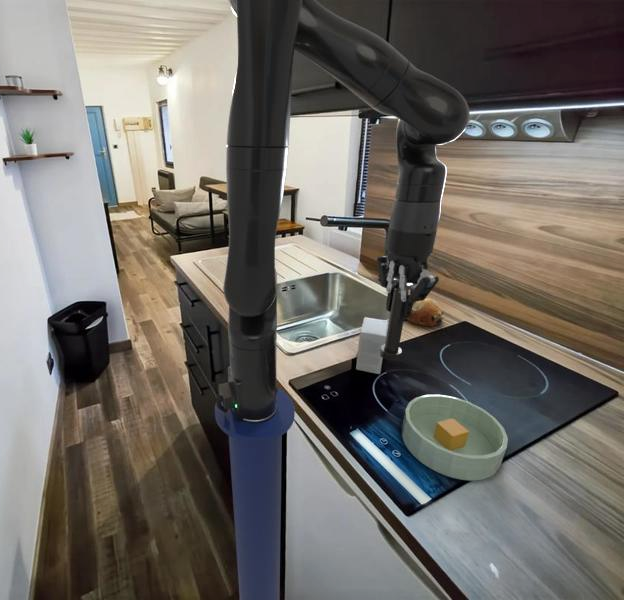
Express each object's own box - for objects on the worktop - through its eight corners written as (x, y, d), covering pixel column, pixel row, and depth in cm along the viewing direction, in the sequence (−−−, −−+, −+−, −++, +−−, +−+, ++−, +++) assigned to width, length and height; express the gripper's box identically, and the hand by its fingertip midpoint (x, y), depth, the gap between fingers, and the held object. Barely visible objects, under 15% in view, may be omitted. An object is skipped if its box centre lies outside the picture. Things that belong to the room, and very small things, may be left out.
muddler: (388, 362, 72) (399, 296, 66) (375, 352, 76) (385, 288, 70) (405, 358, 73) (418, 293, 67) (392, 348, 76) (403, 285, 70)
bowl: (446, 491, 57) (453, 469, 55) (384, 424, 71) (387, 404, 69) (522, 466, 61) (531, 444, 58) (449, 407, 74) (454, 387, 72)
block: (448, 451, 63) (452, 436, 62) (433, 436, 67) (436, 422, 65) (465, 446, 64) (469, 431, 63) (448, 432, 67) (452, 417, 66)
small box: (359, 352, 93) (364, 316, 89) (383, 357, 91) (388, 320, 87) (355, 369, 87) (359, 331, 82) (380, 375, 85) (386, 336, 80)
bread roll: (428, 322, 112) (425, 296, 112) (453, 323, 102) (450, 295, 102) (399, 326, 111) (396, 300, 111) (421, 328, 101) (418, 299, 101)
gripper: (369, 219, 68) (359, 302, 76) (424, 237, 56) (406, 334, 63) (403, 215, 70) (390, 297, 77) (464, 232, 58) (442, 327, 65)
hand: (397, 313), depth 70 cm, fingers closed on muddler, 2 cm apart
